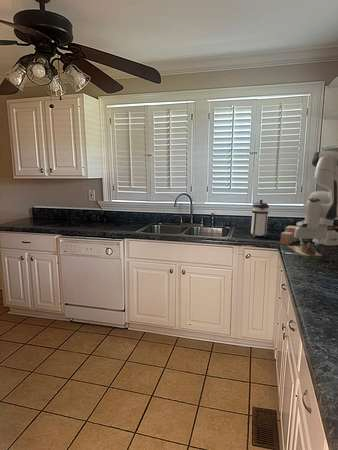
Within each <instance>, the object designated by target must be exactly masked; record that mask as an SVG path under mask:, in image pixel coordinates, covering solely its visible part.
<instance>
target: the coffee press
mask: <svg viewBox="0 0 338 450" xmlns="http://www.w3.org/2000/svg"><path fill="white" fill-rule="evenodd" d="M269 208H270V206H269V204H268V203H267V202H263V199H260V200H259V202H254V203H253V205H252V210H251V211H252V214H251V215H252V216H251V226H250V227H251V228H250V232H249V233H250V235H251V237H252V238H255V237H256V236H259V237H263V238H264V237H265V238H267V226H268V218H269V217H268V216H269ZM265 238H264V239H265Z"/></svg>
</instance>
